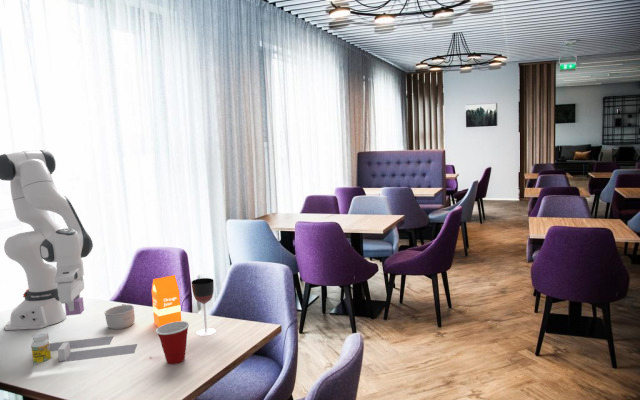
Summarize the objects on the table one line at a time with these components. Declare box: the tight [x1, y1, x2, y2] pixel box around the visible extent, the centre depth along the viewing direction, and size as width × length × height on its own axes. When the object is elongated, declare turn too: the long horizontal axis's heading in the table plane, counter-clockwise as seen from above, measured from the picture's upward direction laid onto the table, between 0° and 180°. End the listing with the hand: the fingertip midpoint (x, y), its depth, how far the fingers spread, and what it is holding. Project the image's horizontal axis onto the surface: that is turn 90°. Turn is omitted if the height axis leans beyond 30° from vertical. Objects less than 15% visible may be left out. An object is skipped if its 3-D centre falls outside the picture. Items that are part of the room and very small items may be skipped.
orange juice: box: [151, 274, 182, 328], centre depth 196 cm, size 8×9×20 cm
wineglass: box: [191, 277, 217, 337], centre depth 188 cm, size 8×9×20 cm
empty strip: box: [57, 341, 138, 363], centre depth 170 cm, size 24×8×5 cm, turn 103°
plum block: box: [64, 296, 85, 317], centre depth 186 cm, size 5×5×5 cm
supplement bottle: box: [30, 332, 52, 366], centre depth 167 cm, size 5×5×10 cm
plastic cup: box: [155, 320, 190, 365], centre depth 164 cm, size 11×11×12 cm
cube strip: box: [45, 333, 114, 352], centre depth 179 cm, size 24×8×5 cm, turn 103°
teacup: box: [104, 303, 136, 330], centre depth 198 cm, size 14×11×8 cm
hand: (74, 307), depth 186 cm, fingers closed on plum block, 5 cm apart
